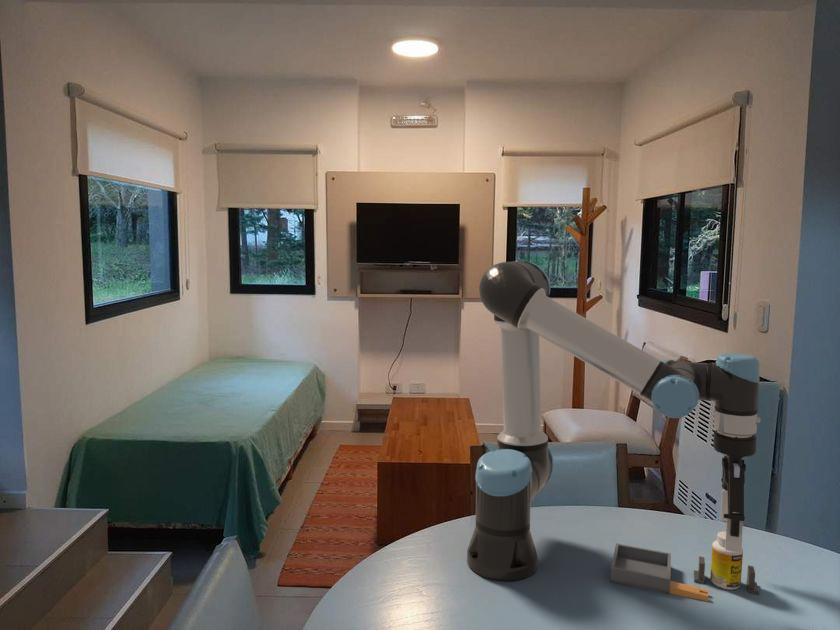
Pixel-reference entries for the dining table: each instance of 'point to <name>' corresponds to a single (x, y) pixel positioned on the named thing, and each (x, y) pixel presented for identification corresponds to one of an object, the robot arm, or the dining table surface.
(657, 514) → the dining table surface
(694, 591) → the fuse puller tool
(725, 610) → the dining table surface
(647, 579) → the parts tray
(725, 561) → the supplement bottle
